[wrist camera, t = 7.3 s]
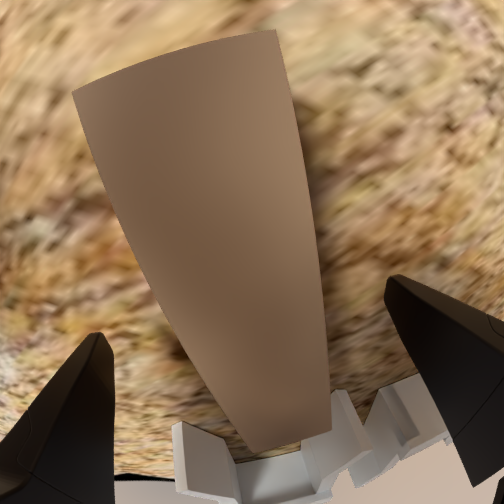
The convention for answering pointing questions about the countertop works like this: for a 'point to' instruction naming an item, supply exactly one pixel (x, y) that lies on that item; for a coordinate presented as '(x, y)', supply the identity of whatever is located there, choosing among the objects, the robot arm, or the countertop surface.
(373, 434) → the end cap
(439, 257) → the countertop surface
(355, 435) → the end cap
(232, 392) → the slat
